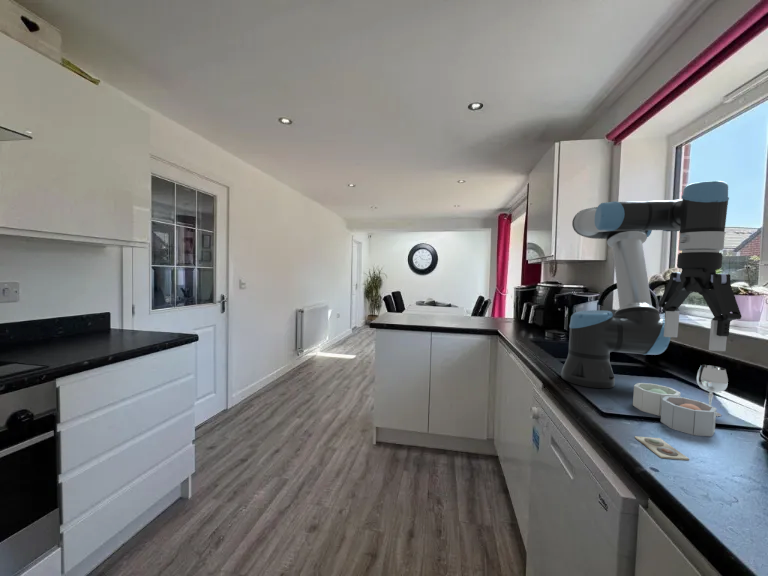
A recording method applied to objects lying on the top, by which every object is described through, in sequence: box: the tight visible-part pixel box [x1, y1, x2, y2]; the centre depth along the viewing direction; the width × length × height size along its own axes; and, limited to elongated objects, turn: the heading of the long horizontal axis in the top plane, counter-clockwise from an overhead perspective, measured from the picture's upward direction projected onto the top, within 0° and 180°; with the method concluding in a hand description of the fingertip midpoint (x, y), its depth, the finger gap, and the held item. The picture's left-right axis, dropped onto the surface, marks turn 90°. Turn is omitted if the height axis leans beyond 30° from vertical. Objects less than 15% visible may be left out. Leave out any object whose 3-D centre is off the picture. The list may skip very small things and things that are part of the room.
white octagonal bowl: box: [632, 382, 681, 417], centre depth 89 cm, size 9×9×6 cm
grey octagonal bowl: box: [660, 396, 717, 437], centre depth 79 cm, size 9×9×6 cm
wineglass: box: [696, 364, 729, 418], centre depth 87 cm, size 6×6×12 cm
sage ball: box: [649, 389, 667, 394], centre depth 88 cm, size 5×5×5 cm
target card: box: [634, 435, 690, 461], centre depth 69 cm, size 8×5×1 cm, turn 174°
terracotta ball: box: [680, 404, 701, 410], centre depth 78 cm, size 5×5×5 cm
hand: (691, 343), depth 79 cm, fingers open, 13 cm apart
